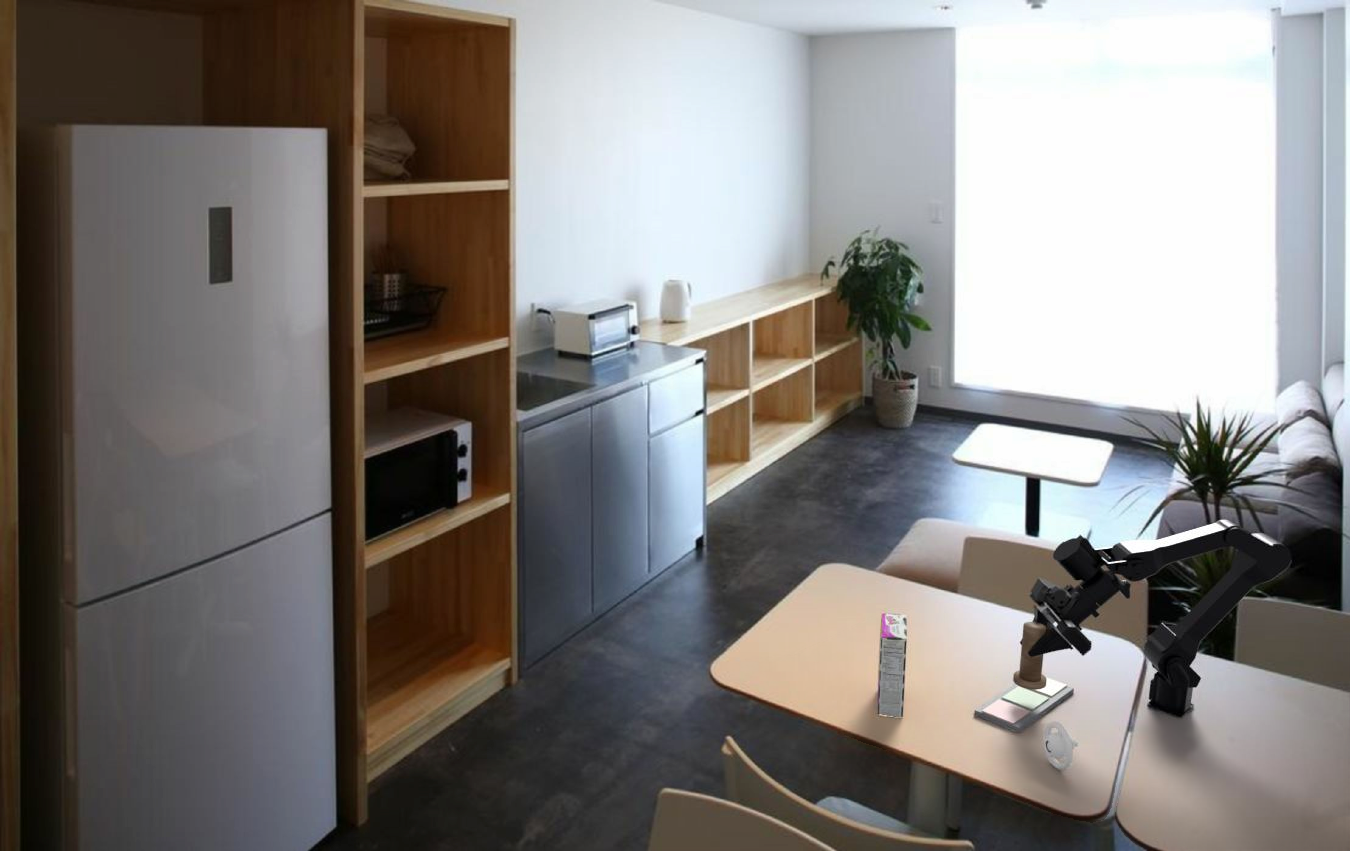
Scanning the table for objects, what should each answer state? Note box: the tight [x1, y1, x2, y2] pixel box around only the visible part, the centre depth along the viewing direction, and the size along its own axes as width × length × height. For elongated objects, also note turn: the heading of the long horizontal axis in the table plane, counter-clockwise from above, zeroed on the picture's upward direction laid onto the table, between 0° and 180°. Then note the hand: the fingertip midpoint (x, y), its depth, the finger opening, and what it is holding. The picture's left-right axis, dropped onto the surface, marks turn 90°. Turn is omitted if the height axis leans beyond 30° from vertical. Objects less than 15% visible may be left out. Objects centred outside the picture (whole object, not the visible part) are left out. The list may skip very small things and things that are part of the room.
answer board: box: [973, 677, 1075, 733], centre depth 201 cm, size 9×22×1 cm, turn 135°
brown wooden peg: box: [1012, 621, 1047, 690], centre depth 198 cm, size 6×6×12 cm
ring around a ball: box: [1042, 721, 1079, 771], centre depth 179 cm, size 8×6×8 cm
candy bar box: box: [877, 612, 908, 718], centre depth 199 cm, size 11×5×16 cm, turn 168°
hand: (1025, 649), depth 198 cm, fingers closed on brown wooden peg, 4 cm apart
